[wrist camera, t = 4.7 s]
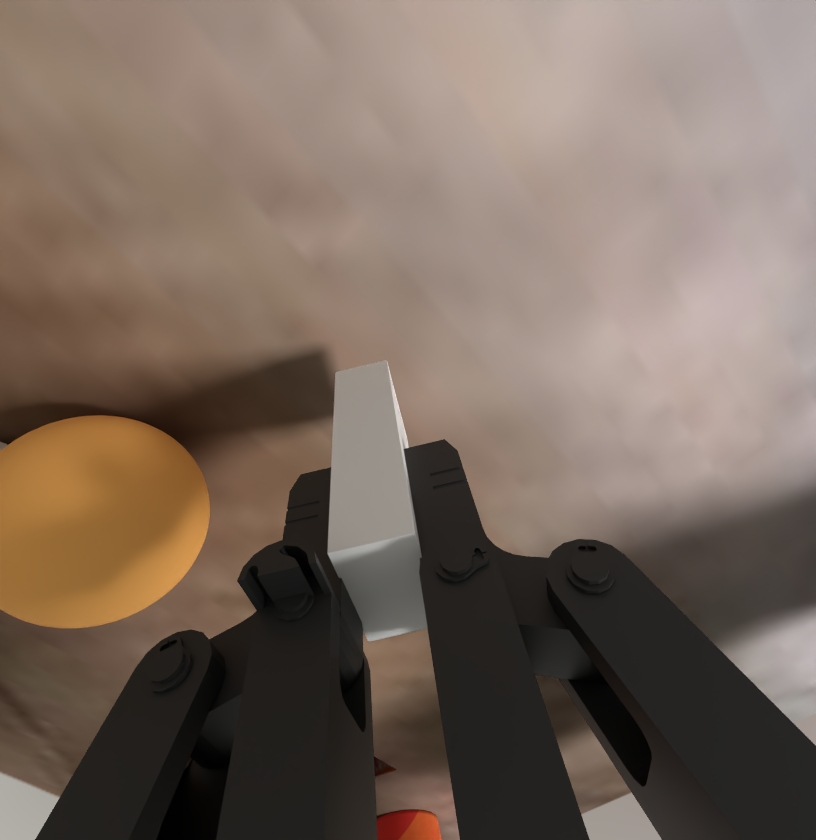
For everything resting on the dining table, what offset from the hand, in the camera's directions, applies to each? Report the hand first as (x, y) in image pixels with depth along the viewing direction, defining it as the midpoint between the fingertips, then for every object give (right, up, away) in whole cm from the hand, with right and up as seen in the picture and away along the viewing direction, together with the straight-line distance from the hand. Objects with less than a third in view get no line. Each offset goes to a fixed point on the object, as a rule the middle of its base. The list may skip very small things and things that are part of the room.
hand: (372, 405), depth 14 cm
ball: (-8, -3, 0) cm, 9 cm away
